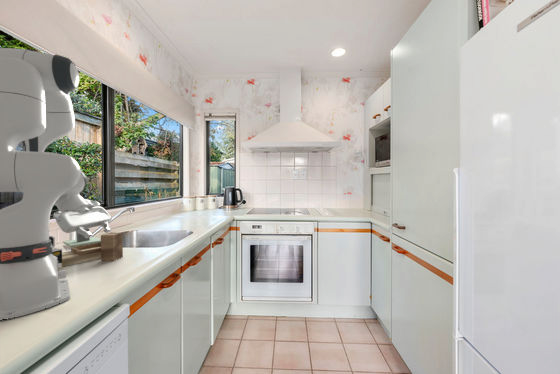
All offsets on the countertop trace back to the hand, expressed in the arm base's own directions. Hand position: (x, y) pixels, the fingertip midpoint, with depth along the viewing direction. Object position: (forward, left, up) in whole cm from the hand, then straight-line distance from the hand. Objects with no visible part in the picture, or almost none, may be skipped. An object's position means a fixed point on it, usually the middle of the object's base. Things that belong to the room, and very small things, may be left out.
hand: (99, 233), depth 100 cm
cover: (+17, +1, -6) cm, 18 cm away
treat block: (-4, -3, -10) cm, 11 cm away
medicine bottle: (+1, +16, -10) cm, 19 cm away
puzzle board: (+6, +4, -10) cm, 12 cm away
